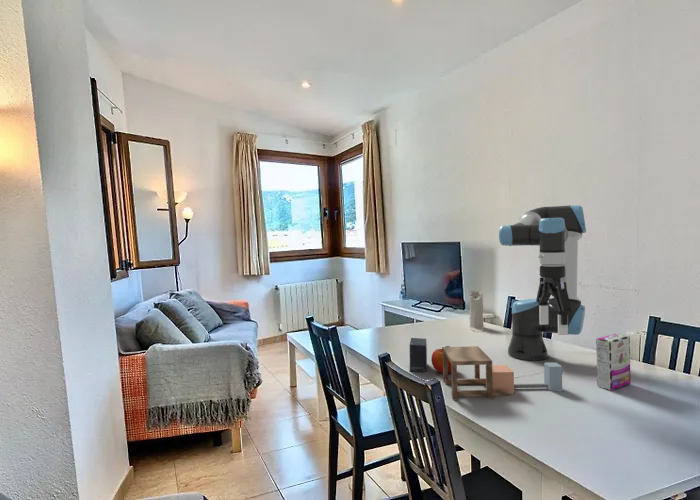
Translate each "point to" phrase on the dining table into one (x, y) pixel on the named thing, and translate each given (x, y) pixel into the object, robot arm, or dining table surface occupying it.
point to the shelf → (475, 358)
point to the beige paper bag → (476, 311)
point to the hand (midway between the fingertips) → (552, 329)
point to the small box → (418, 354)
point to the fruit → (439, 360)
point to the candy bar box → (613, 361)
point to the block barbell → (505, 381)
